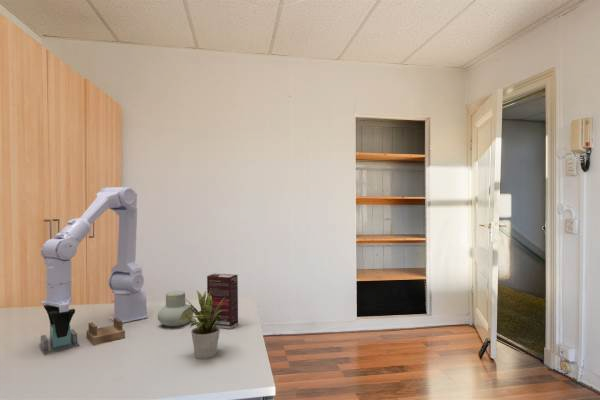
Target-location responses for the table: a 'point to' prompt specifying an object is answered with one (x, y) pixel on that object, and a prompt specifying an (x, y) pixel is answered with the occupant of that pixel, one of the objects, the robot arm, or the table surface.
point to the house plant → (204, 327)
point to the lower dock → (48, 348)
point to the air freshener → (175, 310)
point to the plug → (58, 341)
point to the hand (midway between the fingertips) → (59, 333)
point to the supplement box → (224, 298)
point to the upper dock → (105, 332)
